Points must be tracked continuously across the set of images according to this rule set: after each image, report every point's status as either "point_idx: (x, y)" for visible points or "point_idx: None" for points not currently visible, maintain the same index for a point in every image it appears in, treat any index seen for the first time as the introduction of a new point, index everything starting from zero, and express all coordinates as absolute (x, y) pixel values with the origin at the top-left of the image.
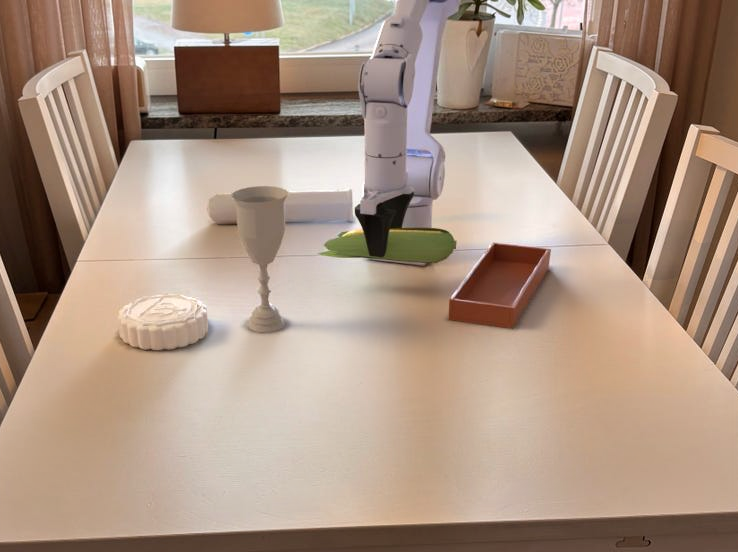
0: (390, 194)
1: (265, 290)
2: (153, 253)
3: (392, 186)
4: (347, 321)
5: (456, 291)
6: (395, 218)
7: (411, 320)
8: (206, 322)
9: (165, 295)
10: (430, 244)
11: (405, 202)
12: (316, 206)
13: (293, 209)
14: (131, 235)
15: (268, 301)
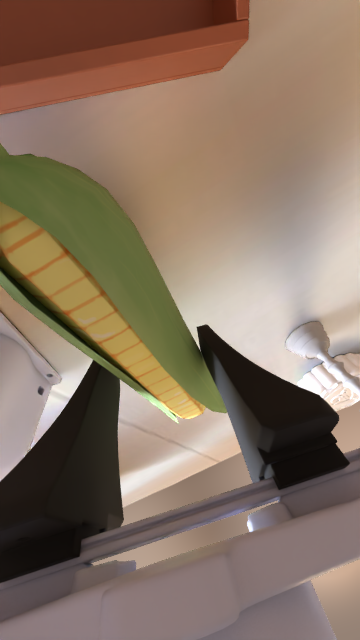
0: (346, 551)
1: (343, 366)
2: (187, 458)
3: (315, 634)
4: (278, 274)
5: (175, 47)
6: (97, 415)
7: (249, 175)
8: None
9: None
10: (124, 240)
11: (67, 471)
12: None
13: None
14: (166, 477)
15: (326, 355)
